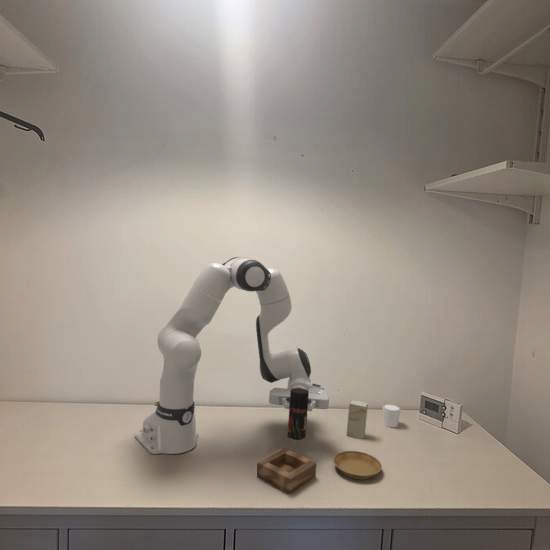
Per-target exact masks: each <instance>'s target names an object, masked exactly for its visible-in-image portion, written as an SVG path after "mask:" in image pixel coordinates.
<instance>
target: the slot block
mask: <svg viewBox="0 0 550 550" xmlns="http://www.w3.org/2000/svg"><path fill="white" fill-rule="evenodd" d="M316 475H317V462H316V461H313V460H312V459H309V458H307V457H305V456H303V455H301V454H298V453H296V452H295V451H292V450H289V449H287V448H285V447H283V448H281V449H279V450H277V451H275V452H273V453H272V454H270V455H268V456H266V457H264V458H263V459H261V460H260V461H259V460H258V461H257V464H256V478H258V479H260V480H261V481H264V482H265V483H267V484H268V485H270V486H273V487H274V488H276V489H278V490H280V491H282V492H283V493H286V494H288V495H289V496H291V495H292V494H293V493H295V492H296V491H298V490H299V489H301V488H302V487H304V485H307V484H308V483H309V482H310V481H312V480H313V479H315V478H316V477H317V476H316Z"/></svg>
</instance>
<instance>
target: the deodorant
mask: <svg viewBox="0 0 550 550" xmlns="http://www.w3.org/2000/svg"><path fill="white" fill-rule="evenodd" d="M308 395H309V391H308V390H306V389H301V388H294V389H291V392H290V406H289V409H288V420H287V421H288V422H287V424H288V425H287V435H286V436H287V438H289V439H290V440H294V441H303V440H305V439H306V438H307V437H306V434H307V422H308V421H307V419H308V411H307V409H308Z"/></svg>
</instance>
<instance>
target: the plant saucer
mask: <svg viewBox="0 0 550 550" xmlns="http://www.w3.org/2000/svg"><path fill="white" fill-rule="evenodd" d="M333 463H334V465H335V467H336V468H337V469H338V470H339V471H340V473H341V474H343V475H345V476H346V477H349V478H350V479H355V480H368V479H371V478H373V477H375V476H376V475H377V474H379V472H381V470H382V463H381V461H380V460H378V459H377V458H376V456H373V455H371V454H369V453H366V452H362V451H358V450H345V451H340V452H339V453H337V454H335V455H334V456H333Z"/></svg>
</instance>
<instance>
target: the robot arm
mask: <svg viewBox="0 0 550 550" xmlns="http://www.w3.org/2000/svg"><path fill="white" fill-rule="evenodd" d="M283 277H284V276H283V275H282V274H281V271H279V269H276V268H272V267H269V268H268V267H267V268H266V267H265V265H264V264H262V263H261V262H260V261H259V260H256V259H252V258H249V257H245V256H235V257H231V258H230V259H228V260H227V261H226V262H224V263H222V264H221V263H218V262H210V263H208V264H207V265H205V267H204V268H203V270H202V271H201V272H200V273H199V275H198V276H197V277H196V279H195V281H194V282H193V284H192V286H191V288H189V290H188V291H189V292H188V293H187V294H186V297H185V298H184V299H183V301H182V303H181V305H180V307H179V309H178V310H177V311H176V312H175V314H173V316H172V318H171V319H170V320H169V321H168V322H167V324H166V325H165V326H164V327H163V328H162V329H160V332H159V333H158V335H157V346H158V349H159V352H160V353H161V354H162V356H163V368H162V373H161V378H160V380H159V399H158V400H159V401H157V402H156V401H155V404H154V407H156V408H155V411H154V412H153V413H151V414H150V415H148V416H147V417H145V419H144V420H143V423H142V429H139V430H138V431H137V432H135V434H134V438H135V439H137V441H138V442H139V443H140V444H141V445H142V446H143V447H144V448H145V450H147V451H148V452H149V453H150V454H153V455H156V454H157V455H159V454H165V455H166V454H167V455H175V454H177V455H178V454H182V453H186V452H188V451H191V450H192V449H194V448H196V445H197V443H198V442H197V441H198V440H197V438H198V437H199V432H198V431H197V425H196V423H197V422H196V414H195V409H196V407H195V400H194V395H195V392H194V391H195V390H194V389H195V377H196V374H197V369H198V365H199V362H200V360H201V358H202V350H201V346H200V343H199V341H198V340H197V337H198V335H199V334H200V333H201V331H203V329H204V328H205V327H206V326H207V325H209V324H210V323H211V322H212V320H213V318H214V317H215V314H216V312H217V311H218V309H219V307H220V305H221V303H222V302H223V300H224V298H225V295H226V294H227V293H228V291H229V290H230V289H232V288H236V289H238V290H241V291H245V292H255V293H256V295H257V297H258V301H259V305H260V311H259V312H260V313H259V314H258V315H257V317H256V319H255V329H256V330H255V332H256V339H257V347H258V356H259V357H258V358H259V373H260V376H261V378H262V379H263V380H264V381H266V382H268V383H270V384H272V383H274V382H278V381H281V380H285V379H288V380H287V387H286V388H285V387H273V388H272V389H271V390H269V396H268V403H269V404H270V405H272V406H273V405H276V406H282V407H284V409H286V410H289V406H290V392H291V389H294V388H301V389H306V390H308V391H309V395H308V409H307V412H313V410H314V409H317V410H327V409H329V407H330V406H329V405H330V398H329V394H328V393H327V391H326V390H325V387H324V385H320V384H316V383H313V382H312V381H311V377H310V376H311V374H312V368H311V363H310V359H309V357H308V354H307V353H306V352H305V351H304V350H302V349H301V348H299V347H297V348H293V349H288V350H286V351H285V350H284V351H281V352H277V353H271V351H270V345H269V334H270V332H271V331H273V330H274V329H275V328H276V327H277V326H279V325H280V324H282V323H283V322H284V321H286V319H288V317H289V316H290V314H291V312H292V306H293V305H292V299H291V295H290V293H289V290H288V287H287V284H286V281H285V279H284V278H283Z"/></svg>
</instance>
